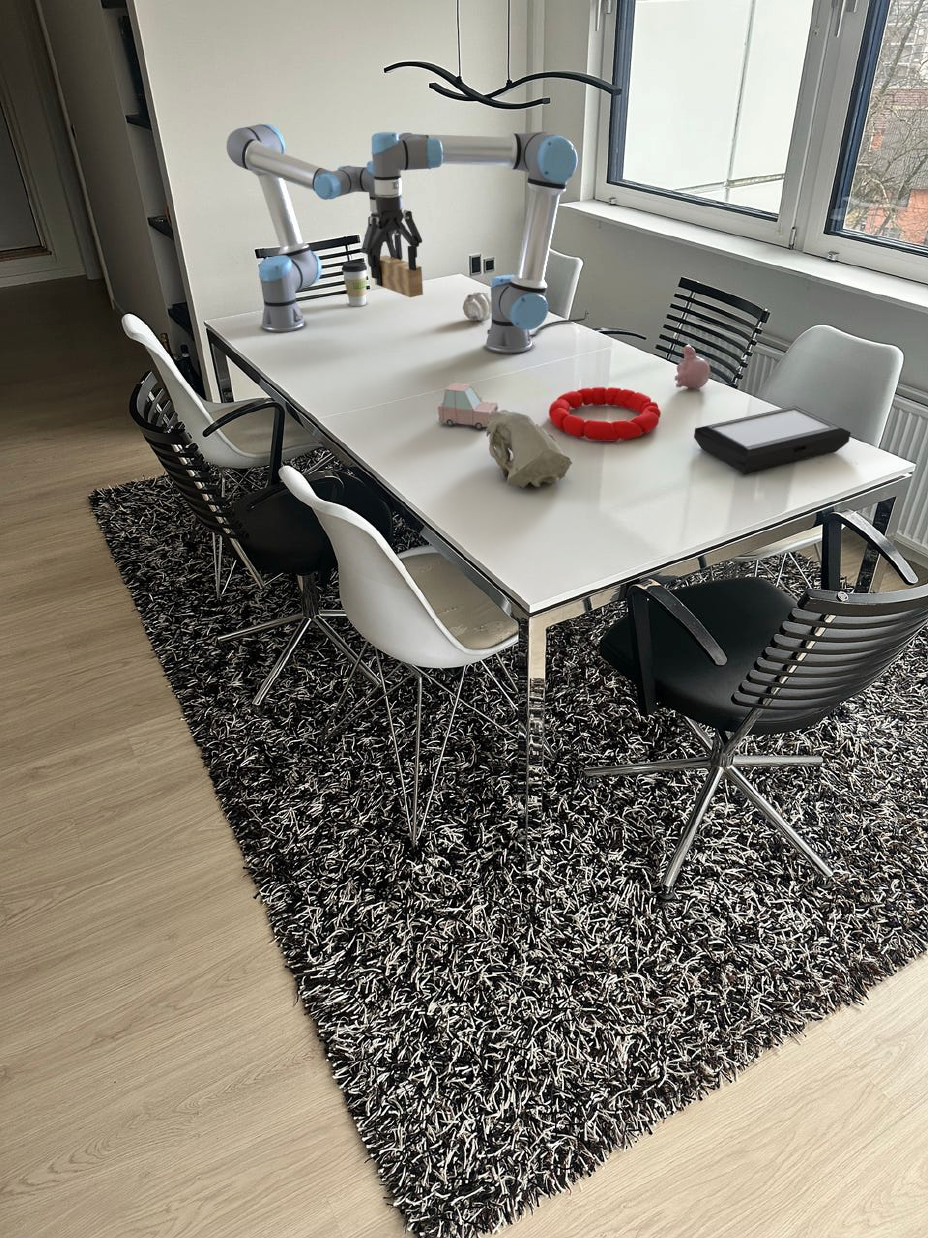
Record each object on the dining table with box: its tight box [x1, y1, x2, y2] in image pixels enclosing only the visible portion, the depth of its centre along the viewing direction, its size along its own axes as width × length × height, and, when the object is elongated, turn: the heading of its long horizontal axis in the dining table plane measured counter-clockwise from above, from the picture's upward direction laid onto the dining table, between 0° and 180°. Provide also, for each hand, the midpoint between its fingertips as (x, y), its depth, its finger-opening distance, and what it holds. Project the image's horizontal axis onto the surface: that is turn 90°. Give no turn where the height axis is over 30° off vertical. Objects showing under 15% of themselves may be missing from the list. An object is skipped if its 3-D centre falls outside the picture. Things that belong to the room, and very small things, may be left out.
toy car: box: [437, 382, 499, 431], centre depth 243 cm, size 9×15×10 cm, turn 70°
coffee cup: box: [341, 260, 368, 307], centre depth 344 cm, size 10×10×15 cm
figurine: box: [674, 344, 711, 390], centre depth 259 cm, size 9×11×12 cm
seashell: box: [462, 292, 492, 322], centre depth 323 cm, size 10×15×10 cm
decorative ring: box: [548, 386, 661, 442], centre depth 242 cm, size 7×30×30 cm
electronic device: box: [693, 405, 852, 475], centre depth 223 cm, size 32×6×20 cm
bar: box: [374, 255, 424, 298], centre depth 305 cm, size 23×5×9 cm, turn 36°
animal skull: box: [485, 409, 573, 489], centre depth 216 cm, size 17×25×20 cm
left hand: (387, 283), depth 313 cm, fingers closed on bar, 5 cm apart
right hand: (394, 273), depth 262 cm, fingers open, 13 cm apart
